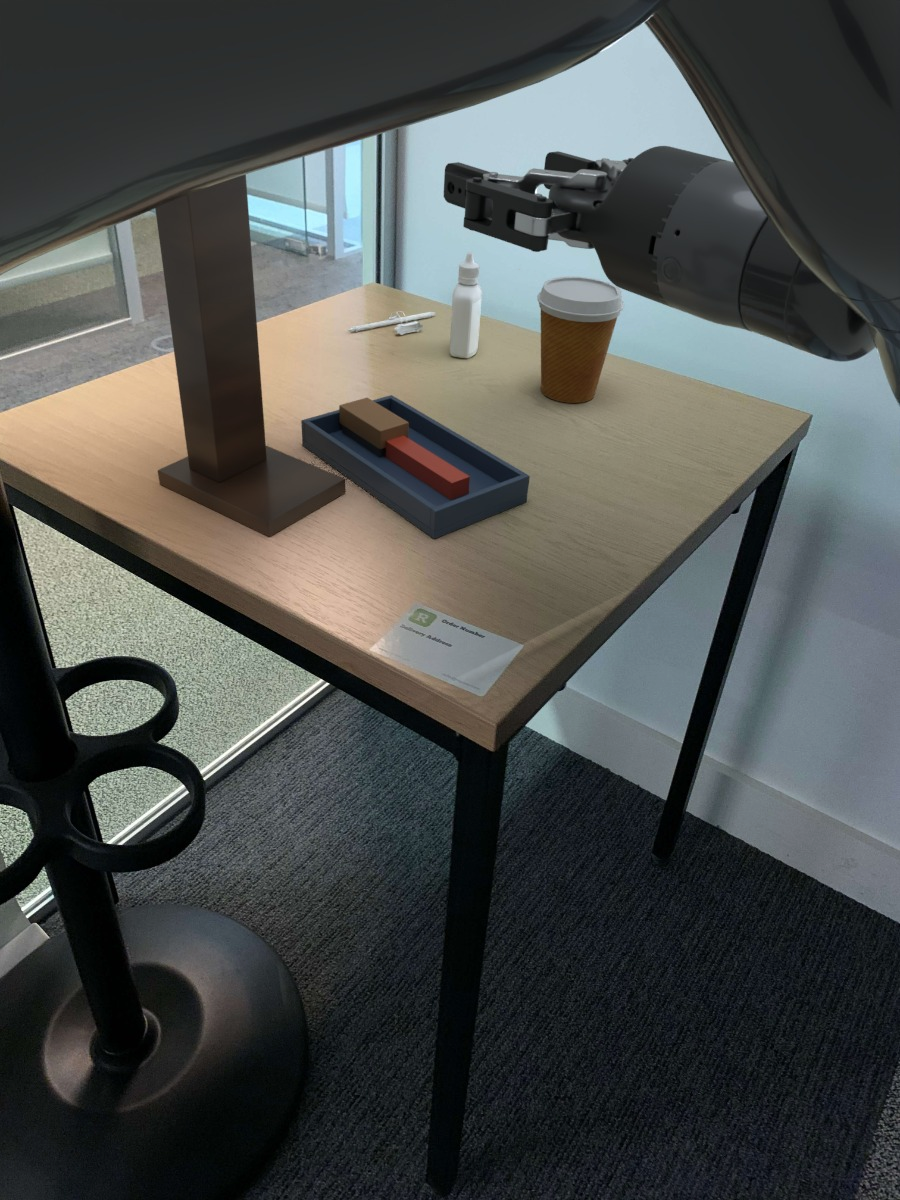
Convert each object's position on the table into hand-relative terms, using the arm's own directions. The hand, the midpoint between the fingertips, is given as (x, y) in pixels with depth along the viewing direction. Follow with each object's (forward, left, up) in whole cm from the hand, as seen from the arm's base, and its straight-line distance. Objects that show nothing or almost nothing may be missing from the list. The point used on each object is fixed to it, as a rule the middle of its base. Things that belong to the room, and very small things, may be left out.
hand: (499, 174), depth 57 cm
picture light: (+1, +56, -31) cm, 64 cm away
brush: (-3, +18, -30) cm, 35 cm away
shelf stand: (-18, +15, -30) cm, 38 cm away
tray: (-3, +17, -30) cm, 35 cm away
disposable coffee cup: (+18, +35, -31) cm, 50 cm away
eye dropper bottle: (+8, +48, -31) cm, 57 cm away
